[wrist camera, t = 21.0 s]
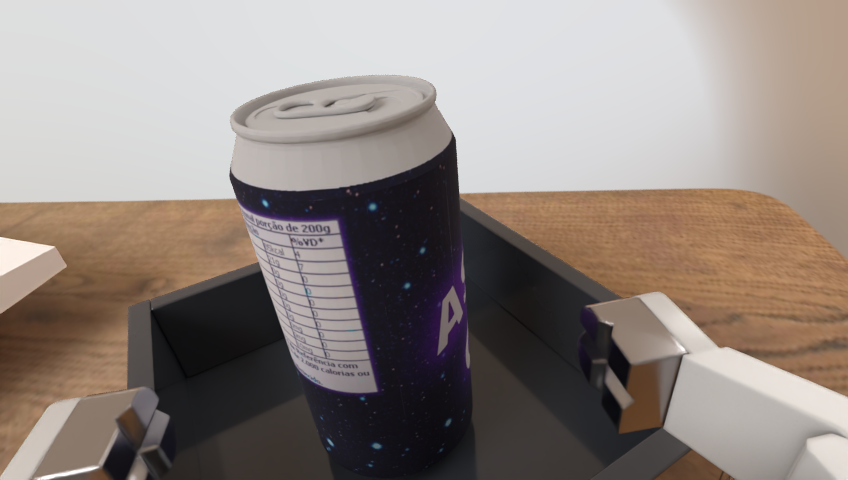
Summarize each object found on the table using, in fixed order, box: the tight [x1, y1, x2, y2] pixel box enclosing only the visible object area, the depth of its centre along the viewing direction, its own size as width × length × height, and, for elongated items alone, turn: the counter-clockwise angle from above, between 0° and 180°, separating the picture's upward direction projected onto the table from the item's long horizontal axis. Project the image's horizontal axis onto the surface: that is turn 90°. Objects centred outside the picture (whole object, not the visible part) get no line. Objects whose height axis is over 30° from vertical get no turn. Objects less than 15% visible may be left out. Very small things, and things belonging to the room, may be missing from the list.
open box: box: [127, 197, 731, 480], centre depth 17 cm, size 16×16×5 cm
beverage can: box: [230, 75, 473, 478], centre depth 14 cm, size 6×6×12 cm
